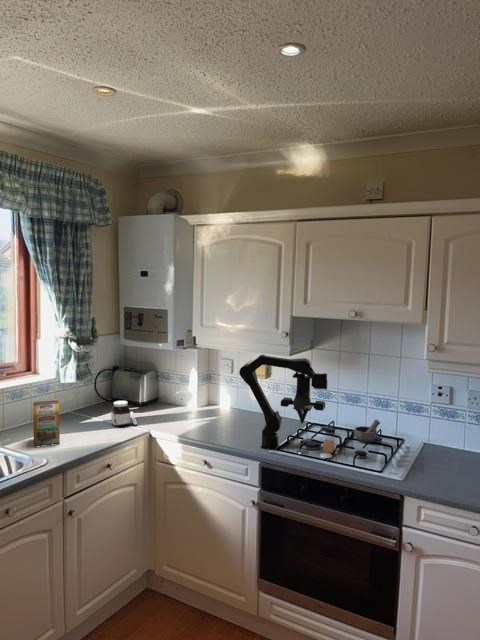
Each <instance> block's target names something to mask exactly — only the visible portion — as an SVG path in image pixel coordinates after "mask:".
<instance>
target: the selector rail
mask: <svg viewBox="0 0 480 640" xmlns="http://www.w3.org/2000/svg"><path fill="white" fill-rule="evenodd" d="M301 445H302V443H301V442H298V443H297V444H296V446H295V447H294V448H295V449H297V450H299V447H300V446H301ZM334 451H335V452H334V454H335V455H338V452H339V451H340V448H339V447H337V448H336V449H335V450H334Z"/></svg>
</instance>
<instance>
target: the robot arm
mask: <svg viewBox="0 0 480 640" xmlns="http://www.w3.org/2000/svg"><path fill="white" fill-rule="evenodd" d="M262 366H270V367H277V368H282V369H289V370H291V371H294V372H295V373H294V374H293V375H292V379H296V391H295V396H294V398H292V397H283V398H282V399H281V400H280V407H285V408H288V407H289V406H290V405H291V406H293V408H292V409H293V410H295V411H296V412H297V414H298V417H299V421H300V424H304V423H305V419H306V417H307V415H308V413H309V412H310V411H311V410H312V409H314V410H315V411H321V412H322V411H324V410H325V408H326V402H325V401H323V400H315V402H312V401H311V396H310V395H311V394H310V393H311V387H312V388H313V389H315V390H328V373H326V372H324V373H318V372H317V373H316V372H315V370H314V369H313V367H312V363H311V361H310V360H309V359H307V358H284V357H277V356H269V355H265V354H259V356H258V357H257V358H256V359H253V361H252V362H250V363H245V364H244V365H243V366H241V367H240V368H239V372H238V373H239V376H240V378H241V379H242V380H243V382H244V383H245V384H247V385H248V387H249V388H250V390H251V392H252V394H253V396H254V398H255V401H256V402H257V403H258V406H259V408H260V410H261V411H262V413H263V418H264V421H265V425H264V427H263V429H262V431H261V433H262V434H261V446H260V448H261V449H264V450H265V449H266V450H270V451H271V450H272V451H275V450H276V449H277V448H278V446H279V436H278V433H277V432H279V430H280V429H281V427H282V423H283V422H282V419H283V417H281V415H280V412H279V411H278V410H276V411H275V409H274V410H273V408H272V406H271V404H270V403H269V402H270V401H268V398H267V397H266V395H265V393H264V391H263V389H262V386H261V385H260V383H259V380H258V376H257V373H256V370H258V369H259V368H260V367H262Z"/></svg>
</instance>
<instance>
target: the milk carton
mask: <svg viewBox="0 0 480 640" xmlns="http://www.w3.org/2000/svg"><path fill="white" fill-rule="evenodd" d="M59 407H60V405H59V399H49V400H48V399H47V400H37V401H36V400H35V401H34V400H33V401H32V421H33V424H32V425H33V429H32V430H33V447H34V446H40V447H42V446H41V445H49V446H53V445H52V444H58V445H61V444H60V443H61V442H60V441H61V440H60V408H59Z"/></svg>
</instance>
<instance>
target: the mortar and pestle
mask: <svg viewBox="0 0 480 640" xmlns="http://www.w3.org/2000/svg"><path fill="white" fill-rule="evenodd" d="M380 424H381V422H380V420H378V419H374V420H373V422H372V423H371V425H370V426H356V427H354V429H353V433H354V436H355V438H356V440H357V441H358V442H359V443H361V444H366V445H367V444H372V442H373V441H375V439H376V437H377V432H378V431H377V428H378V427H379V425H380Z"/></svg>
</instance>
